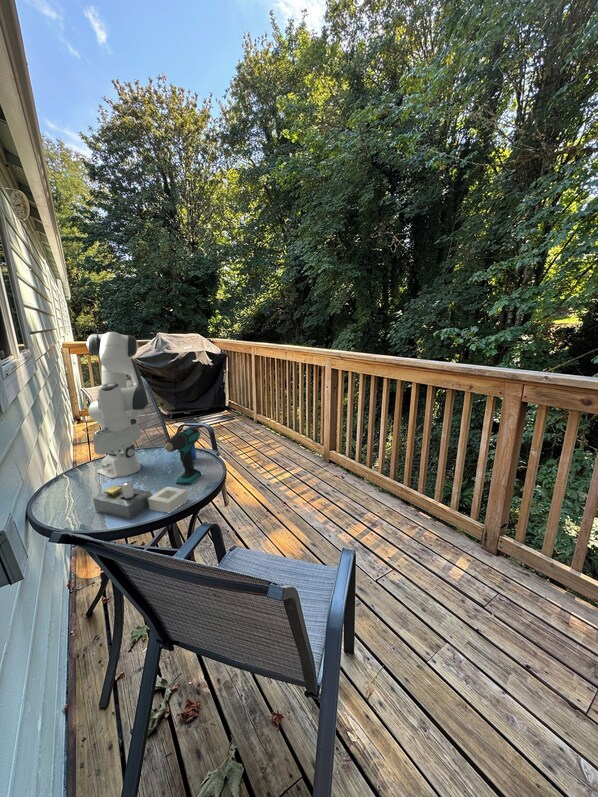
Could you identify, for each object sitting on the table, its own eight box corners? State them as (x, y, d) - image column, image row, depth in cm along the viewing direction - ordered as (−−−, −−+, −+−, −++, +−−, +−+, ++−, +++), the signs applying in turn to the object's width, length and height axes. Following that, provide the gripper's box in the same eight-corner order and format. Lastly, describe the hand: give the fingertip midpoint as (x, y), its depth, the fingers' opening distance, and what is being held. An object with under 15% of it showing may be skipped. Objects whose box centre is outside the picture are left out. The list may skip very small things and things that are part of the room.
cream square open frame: (149, 509, 146) (147, 498, 145) (168, 496, 156) (167, 486, 154) (170, 513, 142) (168, 502, 140) (188, 500, 151) (186, 490, 150)
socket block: (95, 511, 147) (92, 498, 145) (119, 497, 157) (117, 485, 156) (130, 519, 139) (128, 506, 137) (153, 504, 150) (151, 491, 148)
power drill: (181, 495, 156) (173, 443, 150) (163, 494, 158) (155, 442, 152) (207, 470, 181) (201, 424, 175) (191, 469, 183) (185, 423, 177)
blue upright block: (195, 463, 189) (191, 436, 186) (179, 465, 189) (175, 437, 185) (198, 457, 198) (194, 430, 194) (183, 458, 197) (179, 432, 193)
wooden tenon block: (106, 506, 149) (103, 491, 147) (116, 501, 153) (113, 485, 151) (115, 508, 147) (112, 492, 145) (125, 502, 151) (122, 487, 149)
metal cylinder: (124, 511, 146) (119, 485, 143) (132, 506, 149) (127, 480, 146) (131, 512, 144) (126, 486, 141) (139, 507, 148) (134, 481, 145)
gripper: (99, 433, 128) (105, 468, 131) (140, 417, 147) (145, 448, 150) (86, 432, 130) (93, 466, 133) (128, 417, 149) (133, 447, 152)
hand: (121, 457), depth 142 cm, fingers closed
